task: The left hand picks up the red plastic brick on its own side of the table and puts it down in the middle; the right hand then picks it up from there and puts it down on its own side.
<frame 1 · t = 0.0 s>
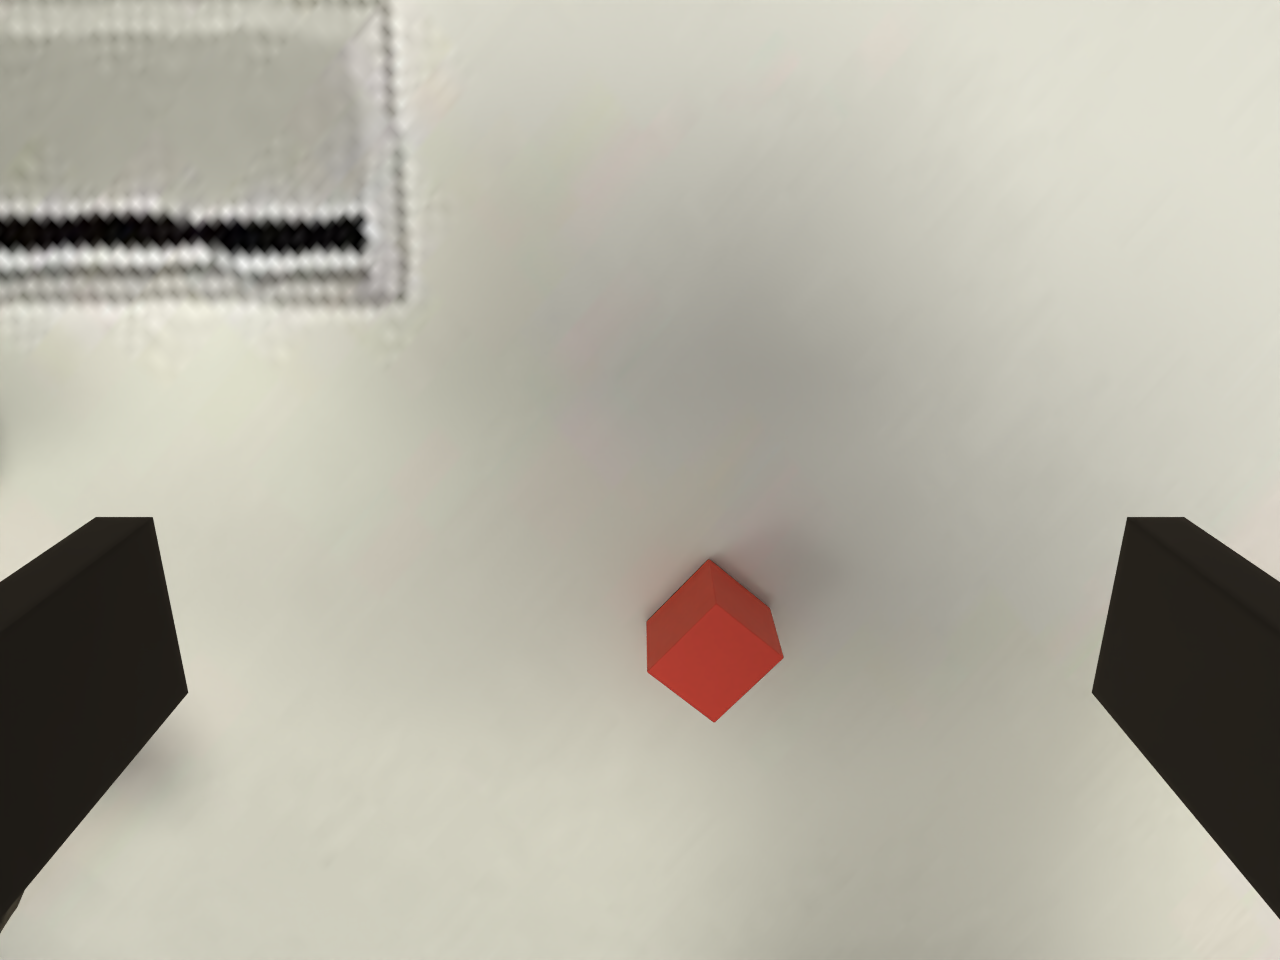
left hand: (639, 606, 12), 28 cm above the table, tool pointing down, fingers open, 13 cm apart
brick: (708, 615, 44), on the table
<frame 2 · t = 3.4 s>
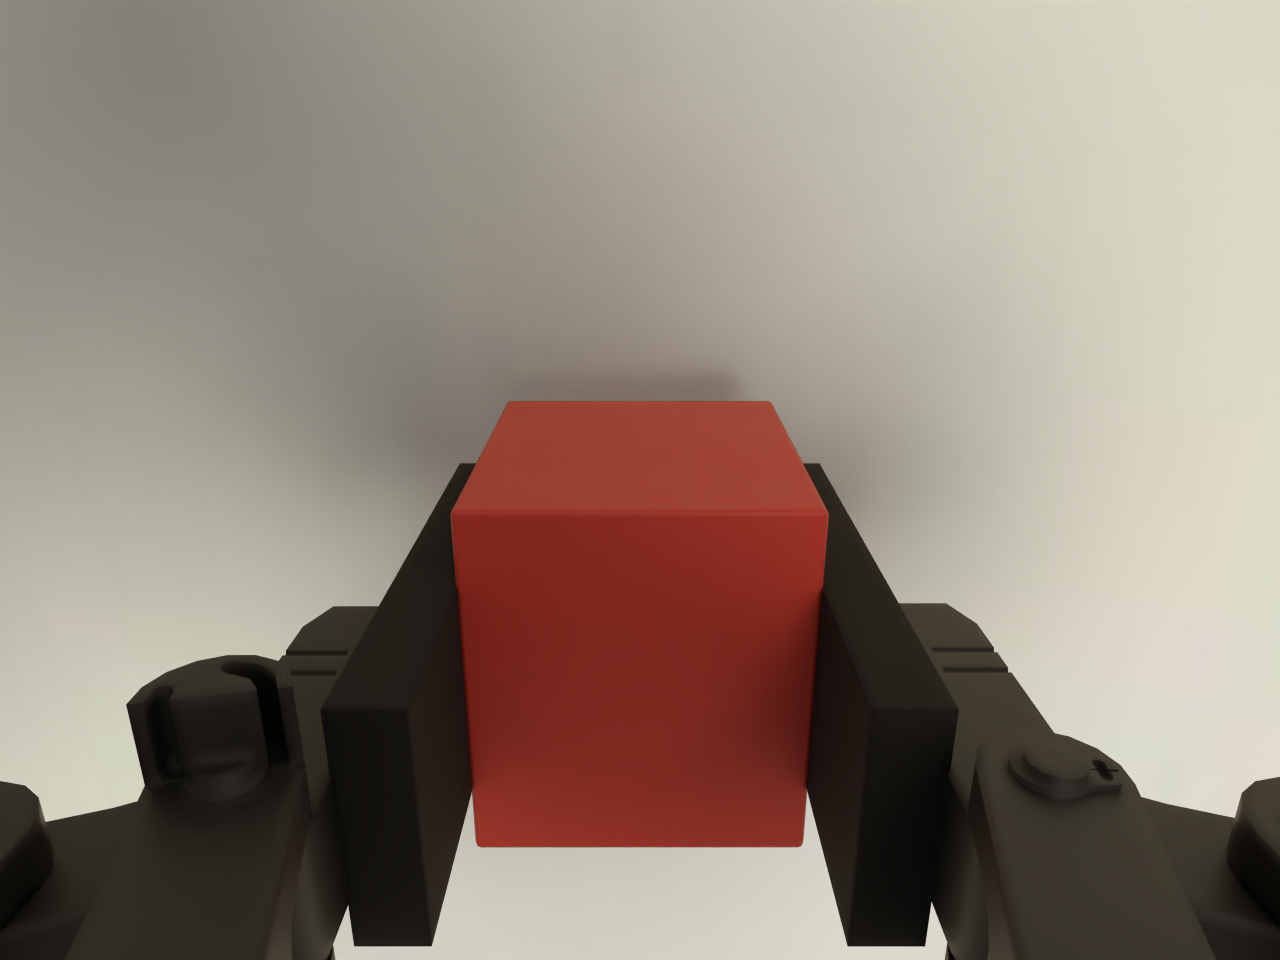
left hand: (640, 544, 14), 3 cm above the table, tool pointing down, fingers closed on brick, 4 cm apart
brick: (639, 535, 15), point 3 cm above the table, touching left hand
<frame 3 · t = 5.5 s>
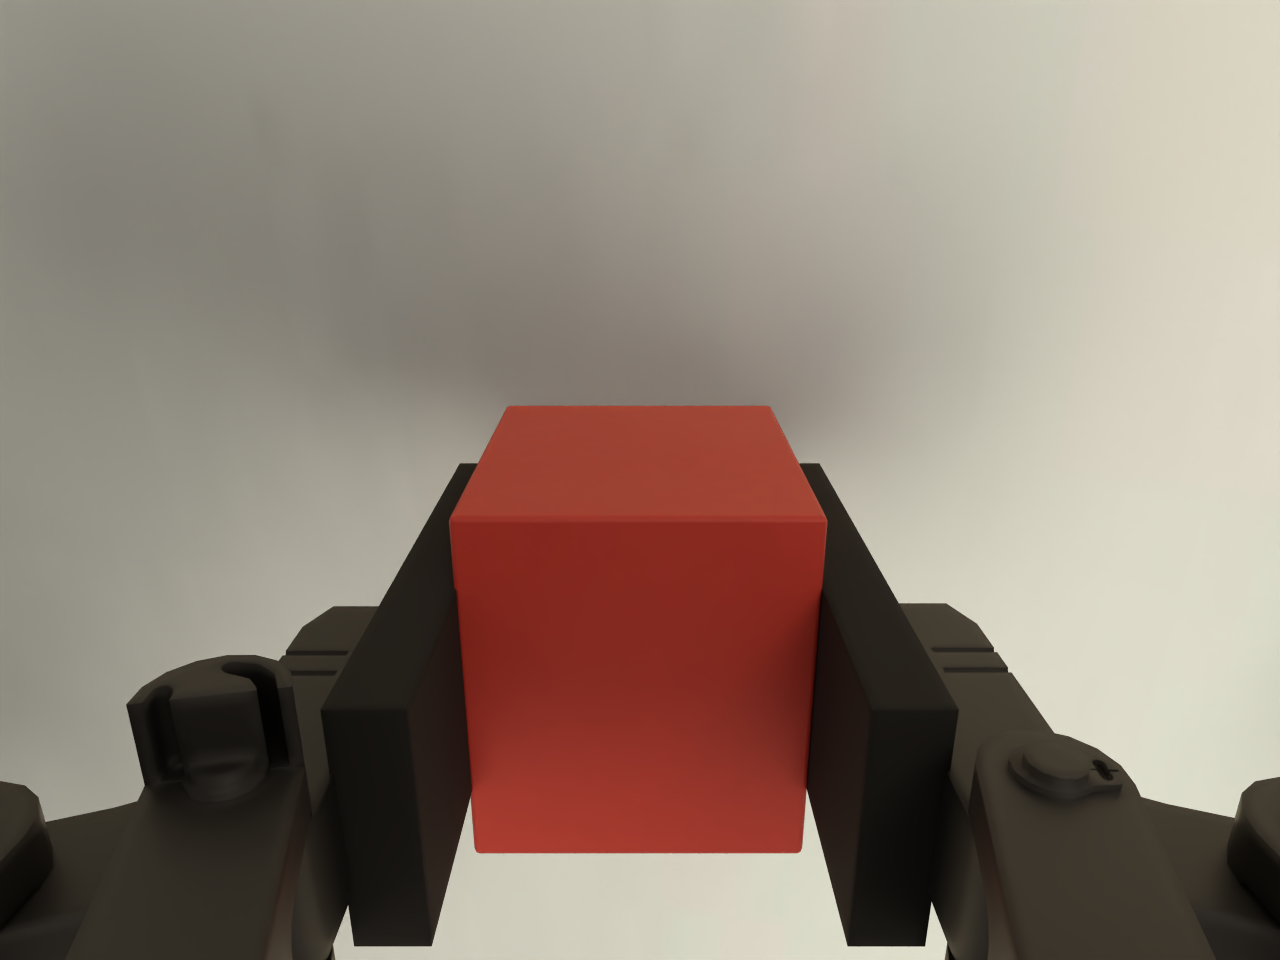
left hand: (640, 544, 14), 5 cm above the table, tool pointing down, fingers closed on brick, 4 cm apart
brick: (638, 539, 15), point 5 cm above the table, touching left hand
when the left hand's fingers open (0 cm above the table, at t = 7.8 s): brick stays where it is, on the table.
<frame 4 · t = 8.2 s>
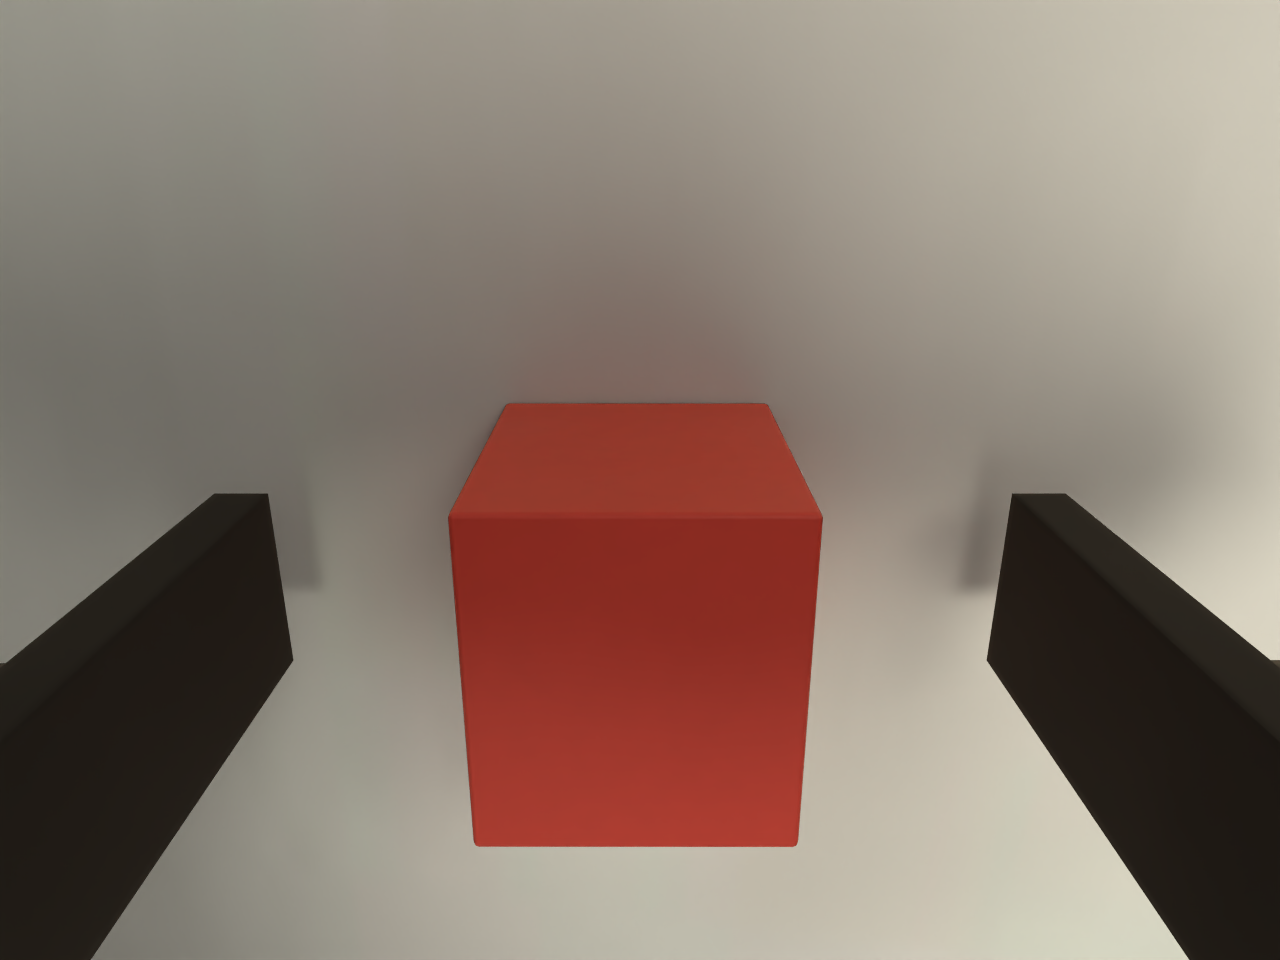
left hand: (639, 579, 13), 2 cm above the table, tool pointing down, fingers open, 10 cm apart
brick: (637, 536, 15), on the table
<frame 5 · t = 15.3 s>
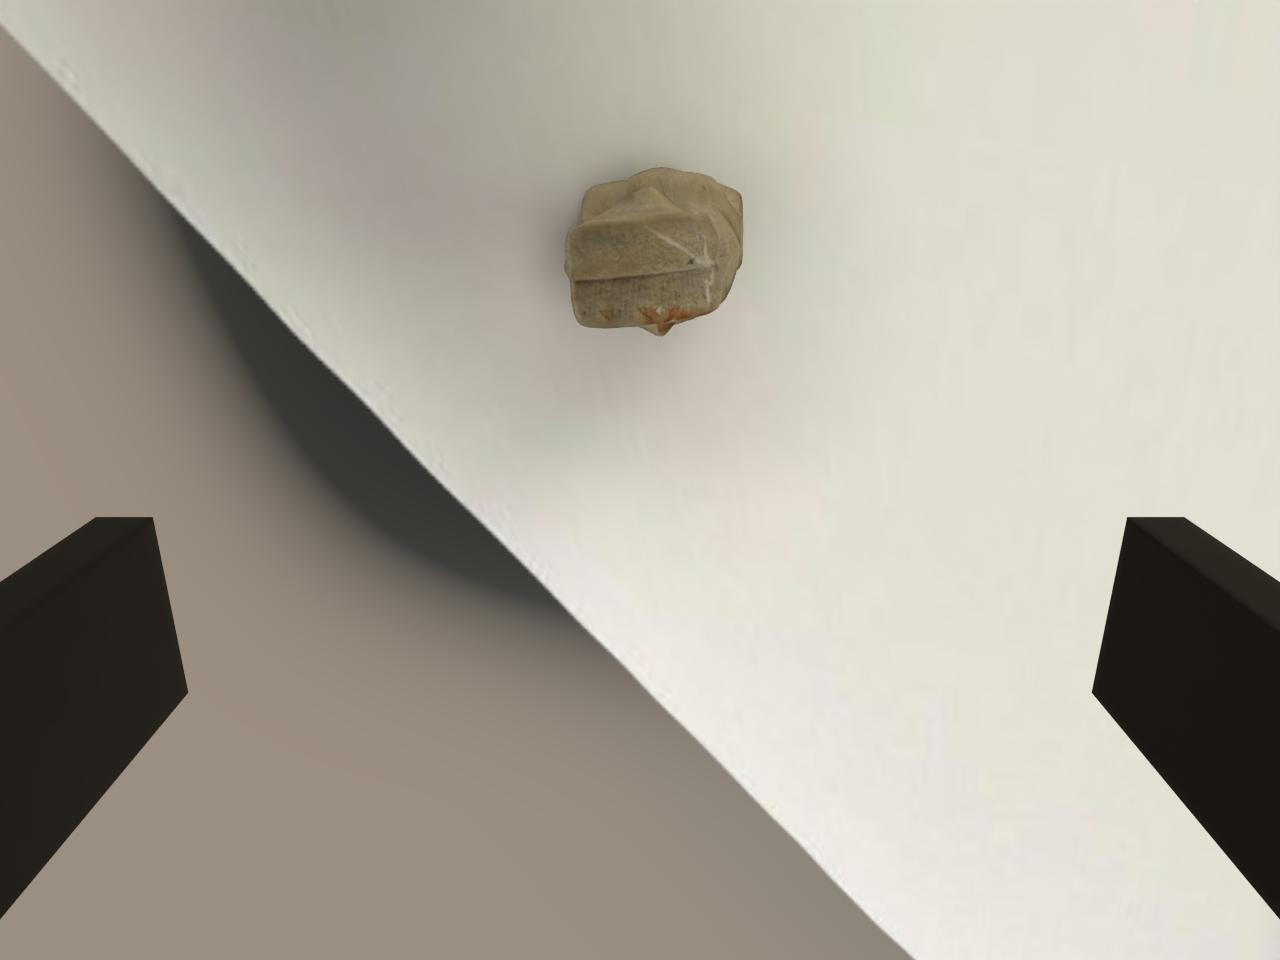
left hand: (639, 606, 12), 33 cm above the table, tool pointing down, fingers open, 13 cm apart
sculpture: (659, 228, 43), on the table
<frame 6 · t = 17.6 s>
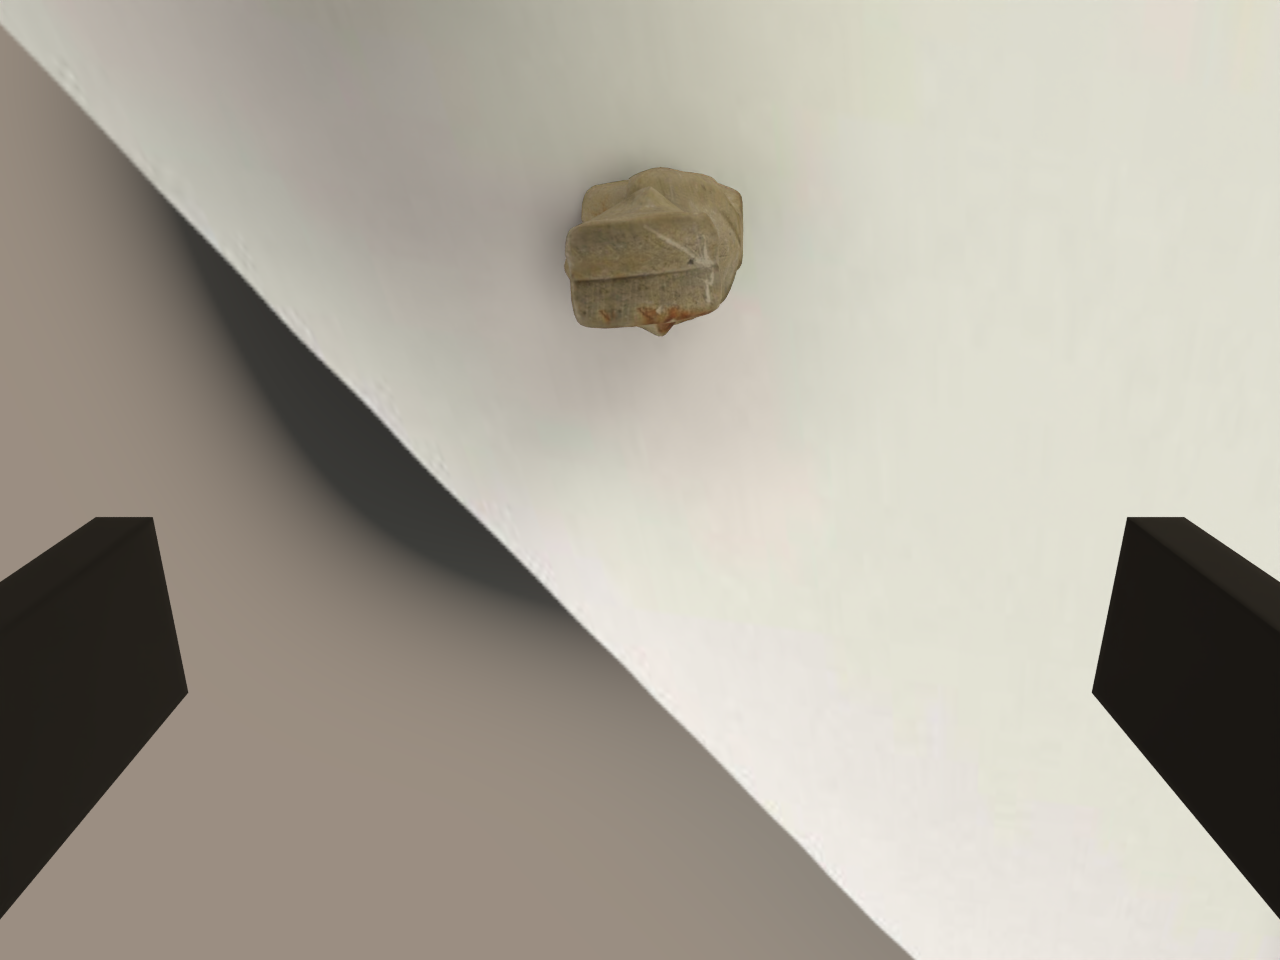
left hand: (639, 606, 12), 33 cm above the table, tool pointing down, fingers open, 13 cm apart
sculpture: (659, 228, 43), on the table
when the right hand's fingers open (2 cm above the table, at t = 20.1 s): brick stays where it is, on the table.
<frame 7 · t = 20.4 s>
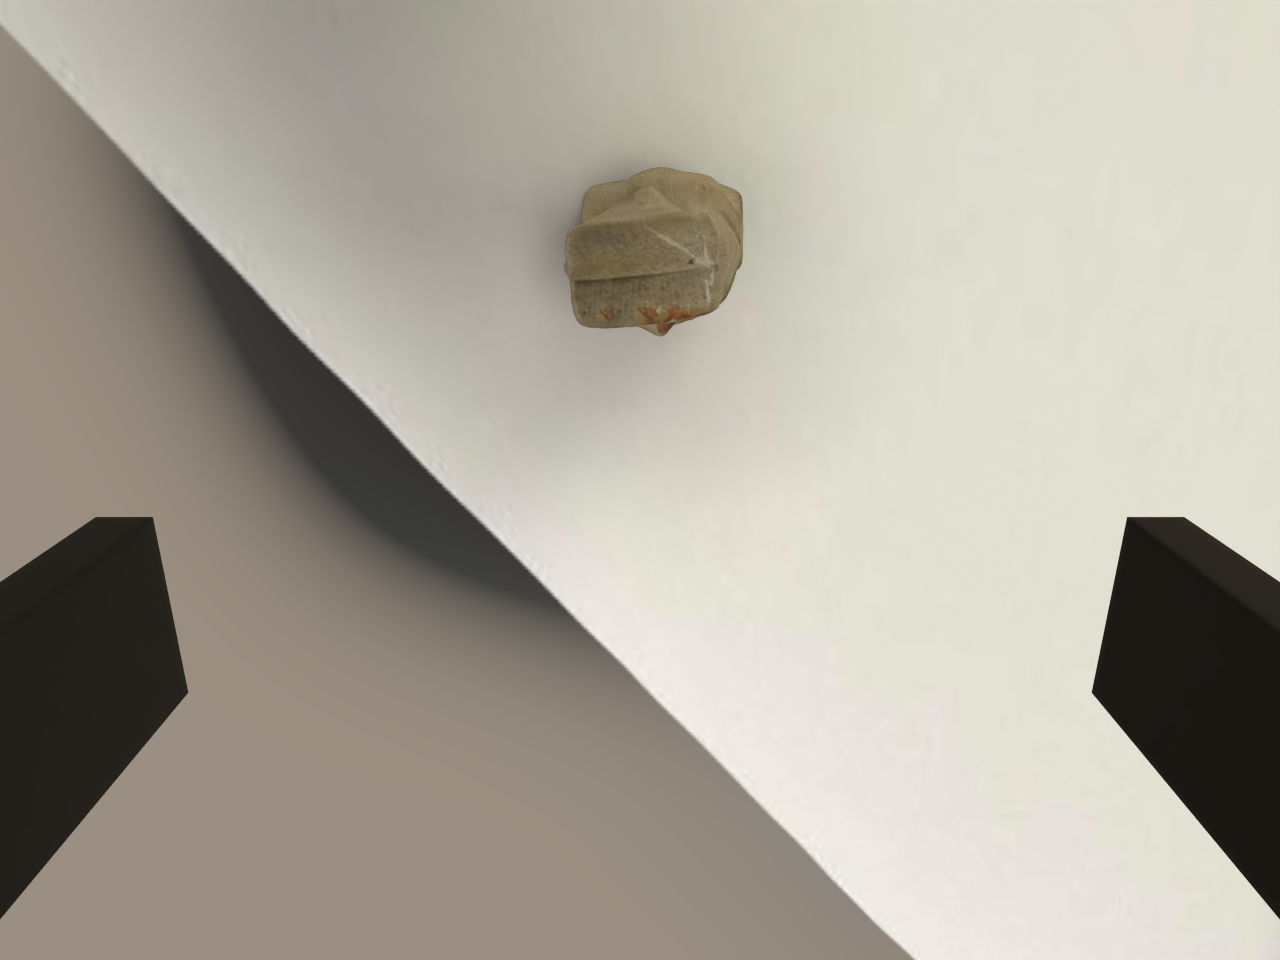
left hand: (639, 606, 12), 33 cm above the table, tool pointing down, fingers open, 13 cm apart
sculpture: (659, 228, 43), on the table
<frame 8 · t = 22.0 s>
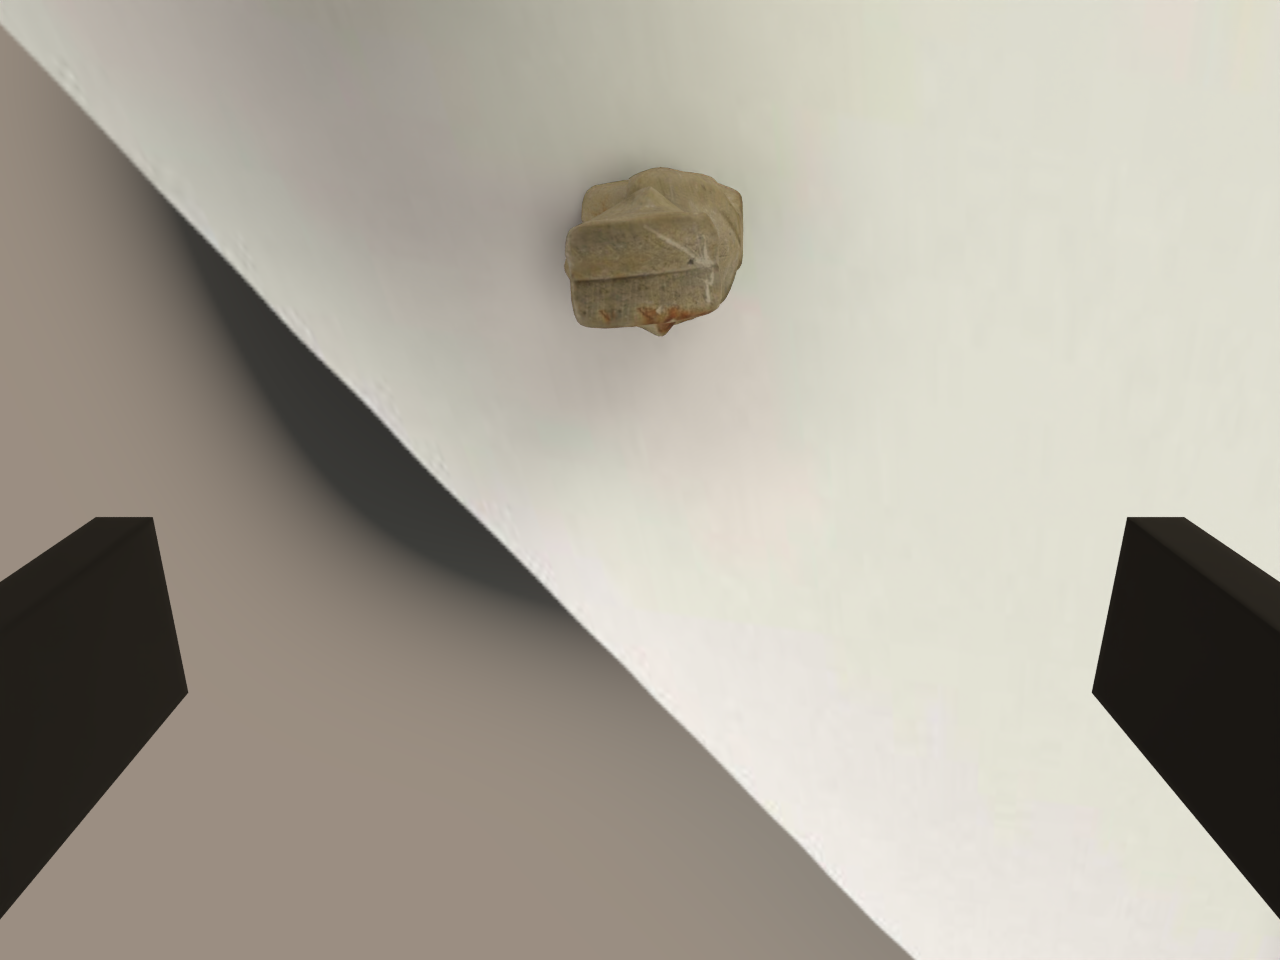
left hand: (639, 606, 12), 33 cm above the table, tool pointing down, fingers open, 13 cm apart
sculpture: (659, 228, 43), on the table
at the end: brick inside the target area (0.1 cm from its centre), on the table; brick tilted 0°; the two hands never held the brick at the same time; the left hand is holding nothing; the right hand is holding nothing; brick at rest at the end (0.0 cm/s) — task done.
